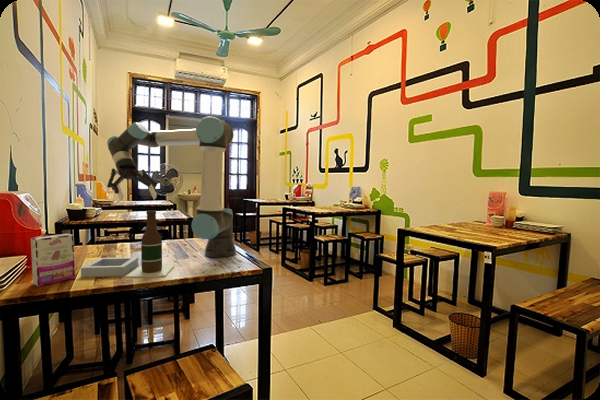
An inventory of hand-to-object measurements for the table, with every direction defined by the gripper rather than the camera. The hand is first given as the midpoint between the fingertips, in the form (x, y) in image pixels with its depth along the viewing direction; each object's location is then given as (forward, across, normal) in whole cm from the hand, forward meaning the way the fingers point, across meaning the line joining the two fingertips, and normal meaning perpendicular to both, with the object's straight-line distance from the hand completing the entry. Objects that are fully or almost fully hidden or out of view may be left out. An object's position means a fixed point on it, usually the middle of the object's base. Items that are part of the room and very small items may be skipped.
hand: (139, 197), depth 133 cm
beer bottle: (+30, +2, -10) cm, 32 cm away
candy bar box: (+22, +30, -19) cm, 42 cm away
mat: (+30, +2, -10) cm, 32 cm away
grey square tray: (+21, +12, -19) cm, 31 cm away
